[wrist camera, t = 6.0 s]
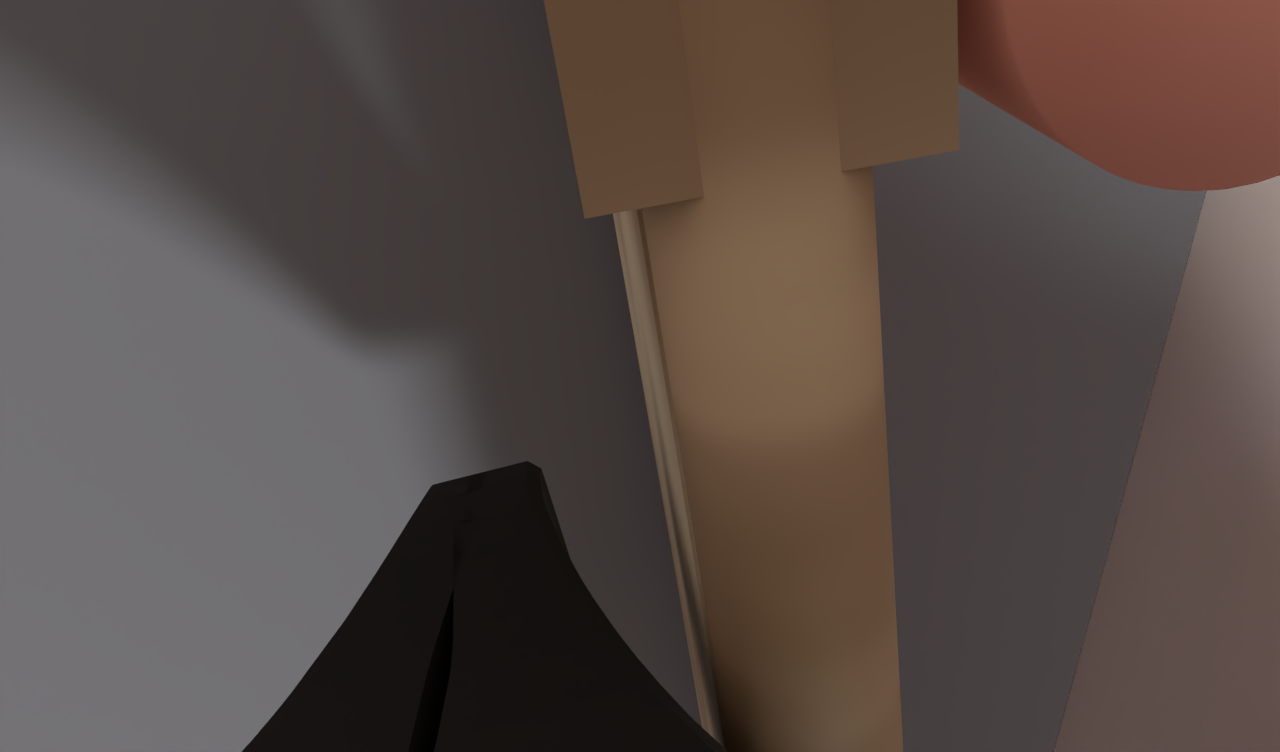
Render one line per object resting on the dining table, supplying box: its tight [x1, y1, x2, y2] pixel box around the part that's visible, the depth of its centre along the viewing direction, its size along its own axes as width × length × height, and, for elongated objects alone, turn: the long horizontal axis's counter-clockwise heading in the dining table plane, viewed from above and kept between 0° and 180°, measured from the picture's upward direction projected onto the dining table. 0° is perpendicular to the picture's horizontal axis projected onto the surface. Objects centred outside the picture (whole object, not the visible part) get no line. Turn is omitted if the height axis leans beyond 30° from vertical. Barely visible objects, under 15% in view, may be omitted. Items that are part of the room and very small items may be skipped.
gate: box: [544, 0, 959, 752], centre depth 10 cm, size 16×2×6 cm, turn 9°
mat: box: [0, 0, 1206, 752], centre depth 14 cm, size 22×24×1 cm
